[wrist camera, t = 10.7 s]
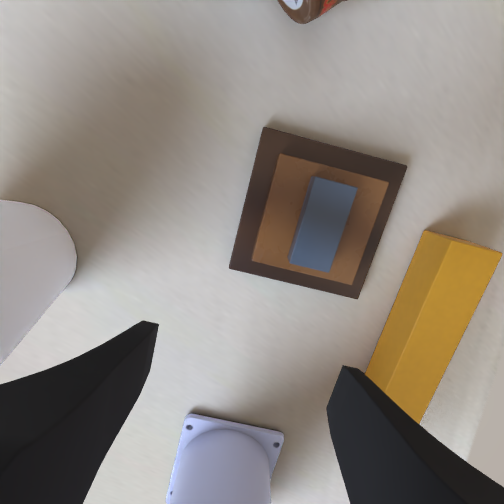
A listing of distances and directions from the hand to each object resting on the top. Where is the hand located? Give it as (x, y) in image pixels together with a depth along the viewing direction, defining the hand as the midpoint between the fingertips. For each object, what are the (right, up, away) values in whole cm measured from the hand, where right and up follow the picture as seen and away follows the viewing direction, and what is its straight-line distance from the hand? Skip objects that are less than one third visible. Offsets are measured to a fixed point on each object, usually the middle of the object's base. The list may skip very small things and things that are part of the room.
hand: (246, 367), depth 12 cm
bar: (+11, -1, +11) cm, 16 cm away
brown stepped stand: (+4, +7, +8) cm, 11 cm away
